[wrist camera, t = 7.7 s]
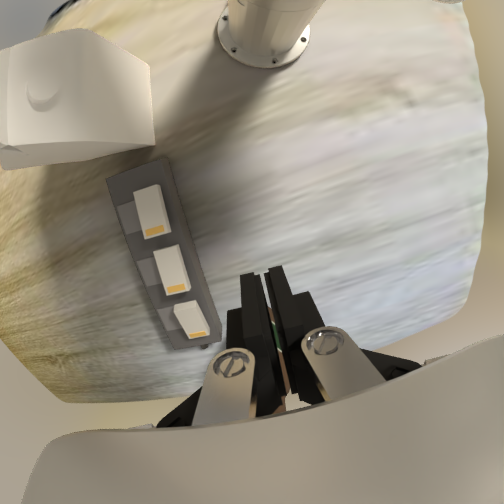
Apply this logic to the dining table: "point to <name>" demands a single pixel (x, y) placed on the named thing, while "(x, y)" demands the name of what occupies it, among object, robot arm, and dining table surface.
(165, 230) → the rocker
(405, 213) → the dining table surface
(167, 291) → the rocker mid
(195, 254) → the power strip
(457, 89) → the dining table surface
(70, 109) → the milk
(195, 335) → the rocker
